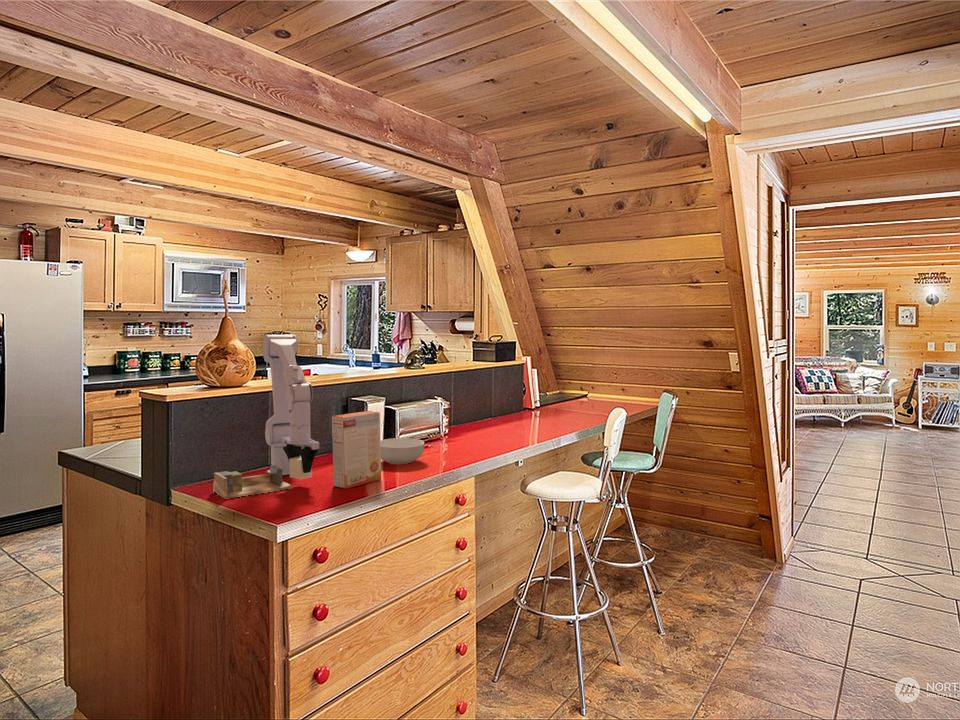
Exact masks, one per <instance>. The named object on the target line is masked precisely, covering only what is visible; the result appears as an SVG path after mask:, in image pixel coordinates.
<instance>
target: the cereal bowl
mask: <svg viewBox="0 0 960 720" xmlns="http://www.w3.org/2000/svg"><path fill="white" fill-rule="evenodd" d="M380 447H381V461H384V462H387V463H388V464H389V463H390V464H389V465H392V464H406V465H408V464H407V463H410V464H411V463H412V462H415V461H417V460H418V459H420V458H421V456H422V455H423V454H424V451H425V441H424V440H421V439H418V438H411V437H409V438H408V437H397V438H395V437H393V438H386V439H380Z"/></svg>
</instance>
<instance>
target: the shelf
mask: <svg viewBox="0 0 960 720" xmlns="http://www.w3.org/2000/svg"><path fill="white" fill-rule="evenodd" d="M213 479H214V480H213V482H212V483H213V485H212V486H213V489H212V490H213V492H214V491H215V492H216V493H217V494H218V495H220V496H221V497H223V498H224V499H226V498H233V497H240V498H242V497H241V496H246V497H249V496H248V495H252V496H255V495H254V494H258V495H262V494H261V493H264V494H268V492H270V493H274V491H276V492H281V491H280V490H282V491H286V489H288V490H293V486H294V485H291V484H290V483H288V482H285V481H284V480H282V484H275V483H273V482H271V481H270V473H265V474H264V473H263V474H258V475H252V476H245V477H243V474H242V473H241V472H238V471H237V470H236V471H235V470H234V471H228V470H227V471H220V472H219V471H218V472H213ZM218 495H217V496H218ZM221 497H220V498H221ZM224 499H223V500H224Z"/></svg>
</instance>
